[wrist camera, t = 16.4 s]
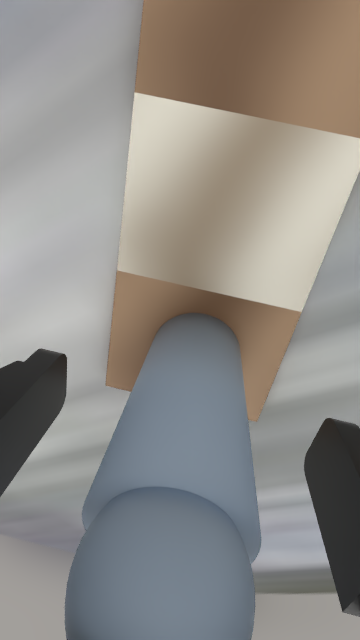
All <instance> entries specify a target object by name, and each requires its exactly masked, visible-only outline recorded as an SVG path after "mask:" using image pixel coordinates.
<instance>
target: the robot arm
mask: <svg viewBox="0 0 360 640" xmlns="http://www.w3.org/2000/svg"><path fill="white" fill-rule="evenodd" d="M66 380H67V357H66V355H65V354H62V353H58V352H54V351H49V350H45V349H38V350H37V351H36V352H35V353H33V354H32V355H31V356H30V357H29V358H28V359H27V360H26V361H25V362H22V361H16V362H13V363H11V364H9V365H7V366H5V367H2V368H0V497H1V495H2V494H3V492H4V491H5V489H6V488H7V487H8V485H9V484H10V482H11V481H12V480H13V478H14V477H15V475H16V474H17V472H18V471H19V470H20V468H21V467H22V465H23V464H24V462H25V461H26V460H27V458H28V457H29V455H30V454H31V453H32V451H33V450H34V448H35V447H36V445H37V444H38V443H39V441H40V440H41V438H42V437H43V435H44V434H45V433H46V431H47V430H48V428H49V427H50V426H51V424H52V423H53V421H54V420H55V418H56V417H57V416H58V414H59V413H60V411H61V409H62V407H63V404H64V401H65V397H66ZM304 471H305V476H306V480H307V484H308V487H309V491H310V495H311V498H312V502H313V506H314V509H315V513H316V517H317V520H318V524H319V528H320V531H321V535H322V539H323V542H324V546H325V549H326V553H327V557H328V560H329V564H330V568H331V571H332V575H333V579H334V582H335V586H336V590H337V593H338V597H339V601H340V604H341V608H342V611H343V612H344V613H347V614H351V615H355V616H359V617H360V428H359V427H358V426H357V425H356V424H352V423H348V422H344V421H340V420H336V419H331V418H327V419H326V420H325V421H324V422H323V424H322V425H321V427H320V429H319V431H318V433H317V435H316V437H315V438H314V440H313V442H312V444H311V446H310V448H309V449H308V451H307V453H306V457H305V462H304Z"/></svg>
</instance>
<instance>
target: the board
mask: <svg viewBox="0 0 360 640" xmlns="http://www.w3.org/2000/svg"><path fill="white" fill-rule="evenodd" d="M359 171H360V0H144V2H143V12H142V22H141V33H140V43H139V53H138V63H137V73H136V83H135V93H134V103H133V113H132V123H131V133H130V143H129V153H128V163H127V173H126V184H125V194H124V204H123V214H122V224H121V234H120V244H119V254H118V264H117V274H116V284H115V294H114V304H113V314H112V325H111V335H110V345H109V355H108V365H107V375H106V386H110V387H114V388H118V389H122V390H126V391H131V392H132V389H133V387H134V385H135V382H136V380H137V377H138V375H139V373H140V370H141V368H142V366H143V363H144V361H145V359H146V356H147V354H148V352H149V349H150V347H151V345H152V342H153V340H154V337H155V335H156V333H157V332H158V330H159V329H160V327H161V326H162V325H163V324H164V323H166V322H167V321H168V320H170V319H172V318H173V317H176V316H178V315H182V314H186V313H202V314H207V315H210V316H213V317H215V318H217V319H219V320H221V321H222V322H224V323H225V324H226V325H227V326H229V327H230V329H231V330H232V331H233V332H234V334H235V335H236V337H237V339H238V342H239V346H240V353H241V362H242V371H243V380H244V389H245V398H246V407H247V416H248V420H251V421H256V422H257V420H258V418H259V415H260V413H261V410H262V408H263V405H264V403H265V401H266V398H267V396H268V393H269V391H270V388H271V386H272V383H273V381H274V379H275V376H276V374H277V371H278V369H279V366H280V364H281V361H282V359H283V357H284V354H285V352H286V349H287V347H288V344H289V342H290V339H291V337H292V335H293V332H294V330H295V327H296V325H297V322H298V320H299V317H300V315H301V313H302V310H303V308H304V305H305V303H306V300H307V298H308V295H309V293H310V291H311V288H312V286H313V283H314V281H315V278H316V276H317V273H318V271H319V269H320V266H321V264H322V261H323V259H324V256H325V254H326V251H327V249H328V247H329V244H330V242H331V239H332V237H333V234H334V232H335V229H336V227H337V225H338V222H339V220H340V217H341V215H342V212H343V210H344V207H345V205H346V203H347V200H348V198H349V195H350V193H351V190H352V188H353V185H354V183H355V181H356V178H357V176H358V173H359Z"/></svg>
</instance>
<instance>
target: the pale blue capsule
mask: <svg viewBox="0 0 360 640" xmlns="http://www.w3.org/2000/svg"><path fill="white" fill-rule="evenodd" d="M82 519H83V524H84V528H85V530H86V532H85V534H84V536H83V537H82V540H81V542H80V544H79V546H78V548H77V551H76V554H75V557H74V560H73V563H72V566H71V569H70V573H69V578H68V582H67V590H66V599H65V630H66V638H67V640H251V637H252V632H253V625H254V613H255V588H254V581H253V573H252V568H251V563H252V562H253V561H254V560H255V558H256V557H257V555H258V553H259V550H260V547H261V532H260V523H259V514H258V505H257V496H256V487H255V478H254V469H253V460H252V451H251V442H250V433H249V424H248V416H247V407H246V398H245V389H244V380H243V371H242V362H241V353H240V346H239V342H238V339H237V337H236V335H235V334H234V332H233V331H232V330H231V329H230V327H229V326H227V325H226V324H225V323H224V322H222V321H221V320H219V319H217V318H215V317H213V316H210V315H207V314H202V313H186V314H182V315H178V316H176V317H173V318H172V319H170V320H168V321H167V322H166V323H164V324H163V325H162V326H161V327H160V329H159V330H158V332H157V333H156V335H155V337H154V340H153V342H152V345H151V347H150V349H149V352H148V354H147V356H146V359H145V361H144V363H143V366H142V368H141V370H140V373H139V375H138V377H137V380H136V382H135V385H134V387H133V389H132V392H131V394H130V396H129V399H128V401H127V403H126V406H125V408H124V410H123V413H122V415H121V418H120V420H119V422H118V425H117V427H116V429H115V432H114V434H113V436H112V439H111V441H110V443H109V446H108V448H107V450H106V453H105V455H104V458H103V460H102V462H101V465H100V467H99V469H98V472H97V474H96V476H95V479H94V481H93V483H92V486H91V488H90V490H89V493H88V495H87V498H86V500H85V503H84V506H83V510H82Z"/></svg>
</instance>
